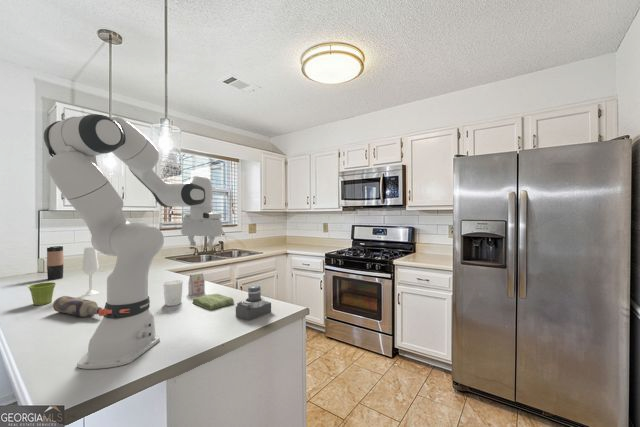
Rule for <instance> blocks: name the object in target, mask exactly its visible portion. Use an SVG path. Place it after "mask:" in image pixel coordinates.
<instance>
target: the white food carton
mask: <svg viewBox="0 0 640 427" xmlns="http://www.w3.org/2000/svg"><path fill="white" fill-rule="evenodd" d="M187 284H188V289H187V290H188V295H190V296H196V295H199V294H203V293H206V292H205V289H206V288H205V285H206V284H205V277H204V273H203V272H200V273H195V274H190V275H189V279H188V283H187Z"/></svg>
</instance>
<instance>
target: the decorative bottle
mask: <svg viewBox="0 0 640 427" xmlns="http://www.w3.org/2000/svg"><path fill="white" fill-rule="evenodd" d="M52 309H53V311H55V312H58V313H64V314H69V315H72V316H74V317H79V318H86V317H91V316H93V315H98V313H99V310H100V309H103V307H101V306H98V303H97V302H96V301H94V300H90V299H84V298H79V297H73V296H69V295H63V296H62V295H61V296H59V297H57V298H56V299H55V300H54V301H53V303H52Z"/></svg>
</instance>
